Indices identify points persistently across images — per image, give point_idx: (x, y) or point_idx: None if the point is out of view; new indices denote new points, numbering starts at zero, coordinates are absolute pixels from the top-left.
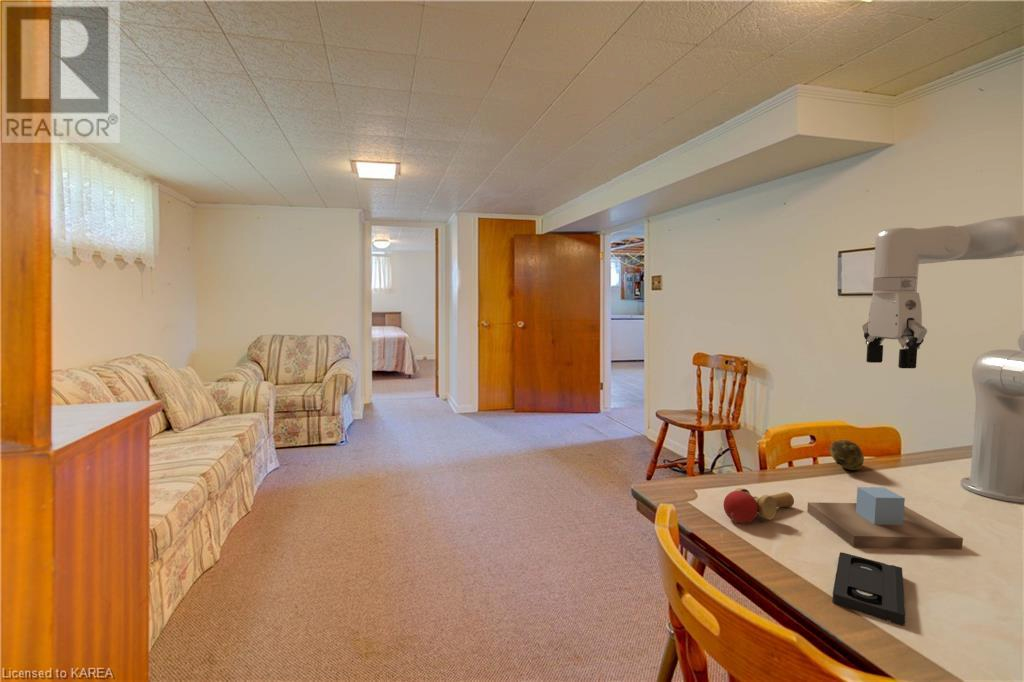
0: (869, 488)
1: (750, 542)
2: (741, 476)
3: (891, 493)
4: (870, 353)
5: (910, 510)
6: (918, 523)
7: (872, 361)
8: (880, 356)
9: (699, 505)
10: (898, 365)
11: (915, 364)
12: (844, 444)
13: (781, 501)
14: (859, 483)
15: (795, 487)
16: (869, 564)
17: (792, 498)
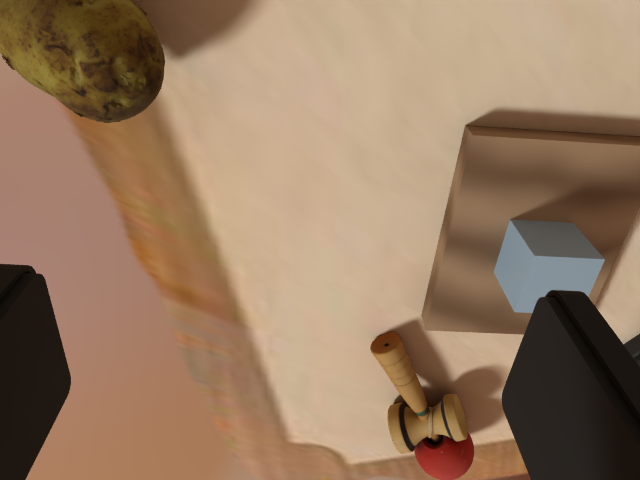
0: (530, 293)
1: (510, 437)
2: (204, 343)
3: (572, 267)
4: (23, 465)
5: (515, 144)
6: (578, 184)
7: (62, 363)
8: (13, 340)
9: (367, 454)
10: (508, 415)
11: (595, 318)
12: (115, 98)
13: (413, 370)
14: (239, 70)
15: (277, 266)
16: (635, 344)
17: (399, 345)
